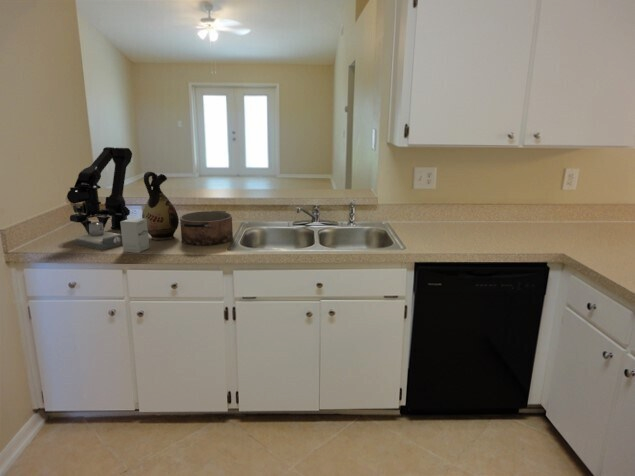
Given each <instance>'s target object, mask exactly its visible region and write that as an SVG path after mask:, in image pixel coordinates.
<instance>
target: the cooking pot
mask: <svg viewBox="0 0 635 476" xmlns="http://www.w3.org/2000/svg"><path fill="white" fill-rule="evenodd" d="M179 225H180V237H181V241H182V243H184V244H186V245H189V246H190V245H191V246H198V247H199V246H200V247H202V246H203V247H209V246H219V245H222V244H227V243H229V242H230V241H232V240H233V238H234V236H233V235H234V233H233V215H232V214H231V213H229V212H227V211H226V210H205V211H204V210H202V211H194V212H188V213H185V214H182V215H180V217H179Z"/></svg>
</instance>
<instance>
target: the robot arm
mask: <svg viewBox="0 0 635 476" xmlns="http://www.w3.org/2000/svg"><path fill="white" fill-rule="evenodd" d="M132 157H133V152H132V150H131V149H130V148H128V147H113V146H112V147H111V146H106V147H104V148H103V149H102V152H101V153H99V155H98V157H97V158H96V159H95V160H94V161H93V162H92V164H91V165H90V166H88V167H85V168H84V169H82V170H81V171H80V172H79V173H78V175H77V179H76V181H75V182H74V183H75V184H74V186H71V187H69V189H70V190H68V192H67V195H66V198H67V200H68V202H69V203H70V204H76V205H73V206H72V207H73V208H72V209H73V213H74V214H70V216H69V221H70V222H73V223H80V224H82V226H83V227H84V229H85V231H86V233H87V235H89V234H90V233H89V223H92V221H91V220H89V219H91V218H97V220H98V222H102V223H103V228H104V229H105V227H106V225H107V223H108V221H109V219H110V220H111V226H110V228H111V229H115V230H121V224H120V222H121V221H124V220H127V219H128V216H130V214H131V211H130V209H129V208H128V207H127V206H126V200H125V198H124V187H125V179H126V172H127V167H128V166H129V164H130V163H131V161H132ZM111 161H113V163H114V172H113V179H112V186H111V187H112V188H111V193H110V194H109V196H106V198H105V203H104V207H105V208H100V205H101V204H102V202H101V201H99V200H100V199H99V192H98V191H99V190H98V189H102V187H101V186H100V185H99V184H98V183H99V181H100V180H101V177H102V172H103V171H104V169H105V168H106V167H107V166H108V164H109V163H110V162H111ZM78 203H81V206H80V205H79V204H78Z"/></svg>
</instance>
